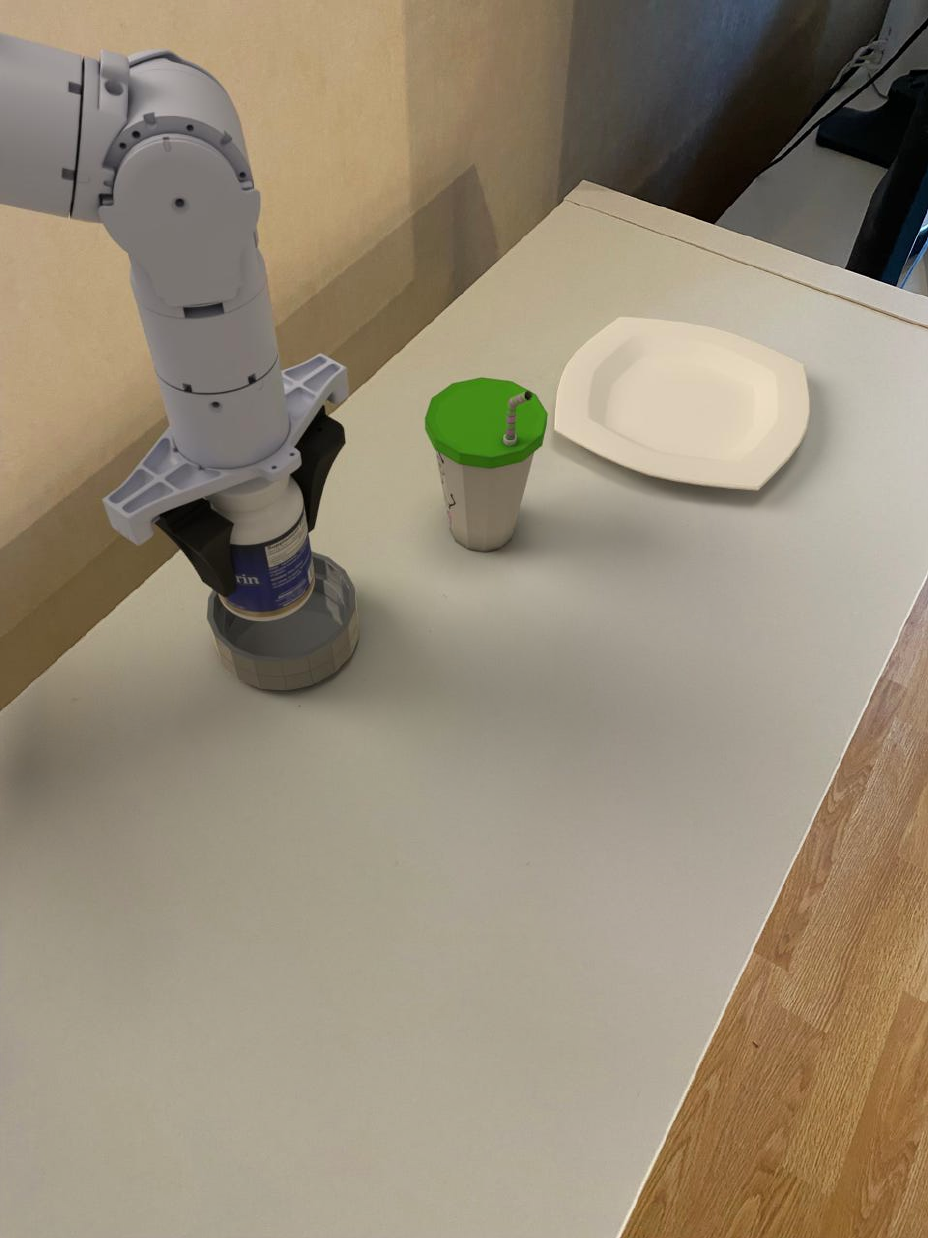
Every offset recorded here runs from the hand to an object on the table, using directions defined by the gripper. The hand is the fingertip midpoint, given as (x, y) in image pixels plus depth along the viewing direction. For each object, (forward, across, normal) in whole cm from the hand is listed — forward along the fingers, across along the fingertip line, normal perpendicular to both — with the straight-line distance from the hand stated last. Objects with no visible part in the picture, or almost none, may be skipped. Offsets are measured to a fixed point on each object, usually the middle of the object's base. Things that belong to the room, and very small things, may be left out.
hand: (259, 554), depth 57 cm
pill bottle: (+3, 0, 0) cm, 3 cm away
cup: (+10, +17, -3) cm, 20 cm away
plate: (+10, +37, -7) cm, 39 cm away
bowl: (+10, +2, +1) cm, 10 cm away
